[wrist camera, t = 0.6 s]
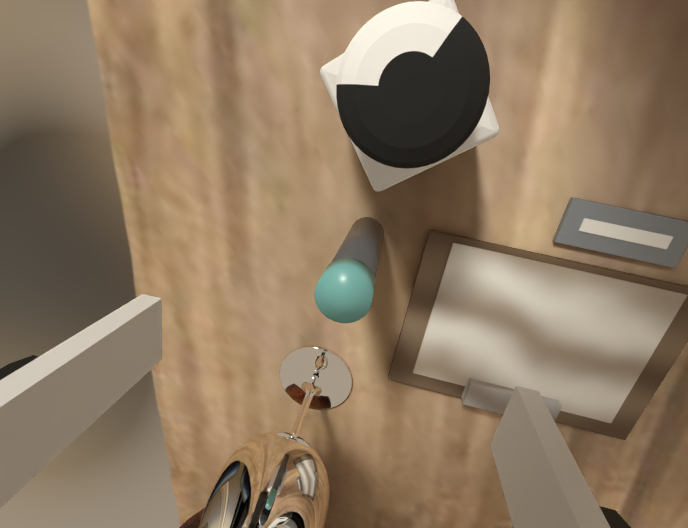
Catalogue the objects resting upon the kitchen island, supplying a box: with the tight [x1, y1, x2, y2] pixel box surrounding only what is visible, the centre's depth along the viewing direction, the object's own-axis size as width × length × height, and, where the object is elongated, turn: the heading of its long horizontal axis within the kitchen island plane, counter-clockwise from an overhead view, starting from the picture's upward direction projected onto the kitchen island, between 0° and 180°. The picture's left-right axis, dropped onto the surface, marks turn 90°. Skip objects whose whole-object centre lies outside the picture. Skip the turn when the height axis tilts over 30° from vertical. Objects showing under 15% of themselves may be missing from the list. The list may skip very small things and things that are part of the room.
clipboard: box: [388, 230, 688, 440], centre depth 30 cm, size 15×22×2 cm
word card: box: [553, 197, 688, 268], centre depth 27 cm, size 4×9×1 cm, turn 79°
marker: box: [315, 217, 384, 323], centre depth 24 cm, size 3×3×13 cm
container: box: [320, 0, 499, 192], centre depth 21 cm, size 8×8×13 cm
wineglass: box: [198, 346, 352, 528], centre depth 27 cm, size 8×8×20 cm
